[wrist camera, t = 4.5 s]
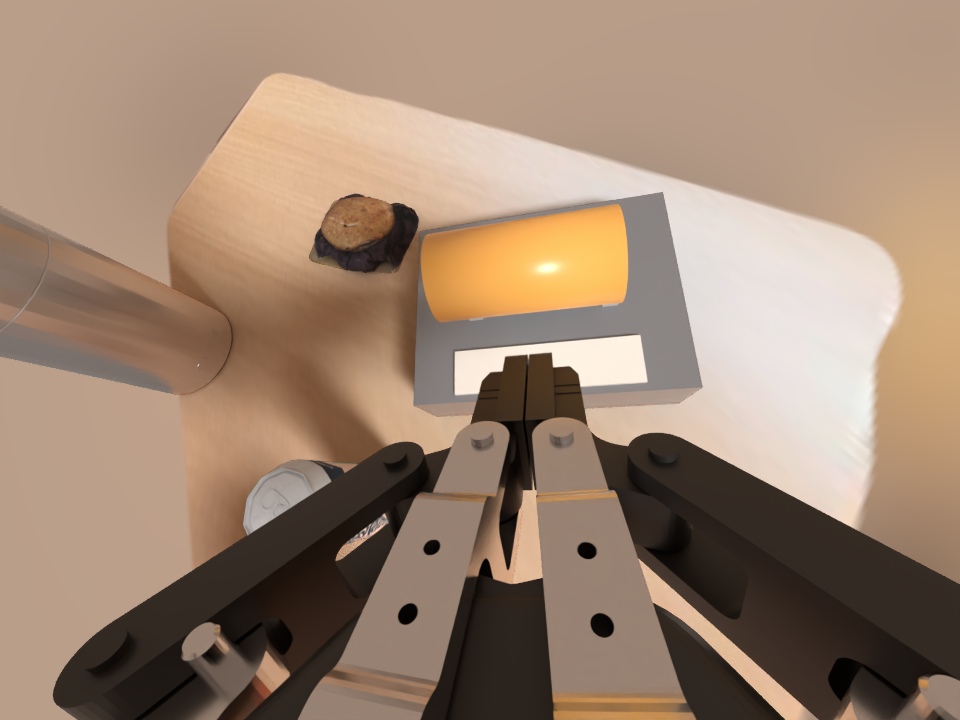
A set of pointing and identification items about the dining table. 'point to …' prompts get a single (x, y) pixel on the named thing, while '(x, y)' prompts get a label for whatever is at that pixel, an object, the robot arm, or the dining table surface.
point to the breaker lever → (527, 265)
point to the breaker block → (574, 330)
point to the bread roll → (364, 235)
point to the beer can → (295, 492)
